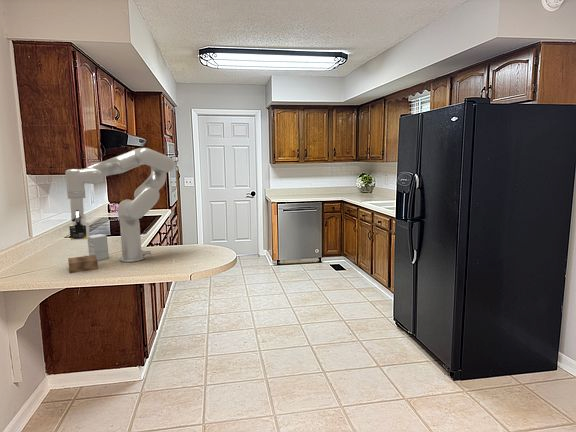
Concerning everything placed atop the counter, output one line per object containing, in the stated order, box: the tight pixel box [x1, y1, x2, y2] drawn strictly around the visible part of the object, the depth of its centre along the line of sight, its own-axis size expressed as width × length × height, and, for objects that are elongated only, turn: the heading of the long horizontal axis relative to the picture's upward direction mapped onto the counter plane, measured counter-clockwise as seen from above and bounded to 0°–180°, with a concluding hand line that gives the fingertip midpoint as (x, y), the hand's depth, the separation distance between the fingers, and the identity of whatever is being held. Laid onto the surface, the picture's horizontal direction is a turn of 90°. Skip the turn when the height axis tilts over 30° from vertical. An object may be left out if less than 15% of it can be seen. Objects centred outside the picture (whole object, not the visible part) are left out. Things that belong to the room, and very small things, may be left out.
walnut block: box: [67, 255, 99, 274], centre depth 197 cm, size 12×12×5 cm
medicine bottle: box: [68, 213, 91, 241], centre depth 194 cm, size 7×7×12 cm
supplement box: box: [86, 233, 110, 262], centre depth 214 cm, size 7×7×13 cm
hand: (79, 231), depth 194 cm, fingers closed on medicine bottle, 7 cm apart
